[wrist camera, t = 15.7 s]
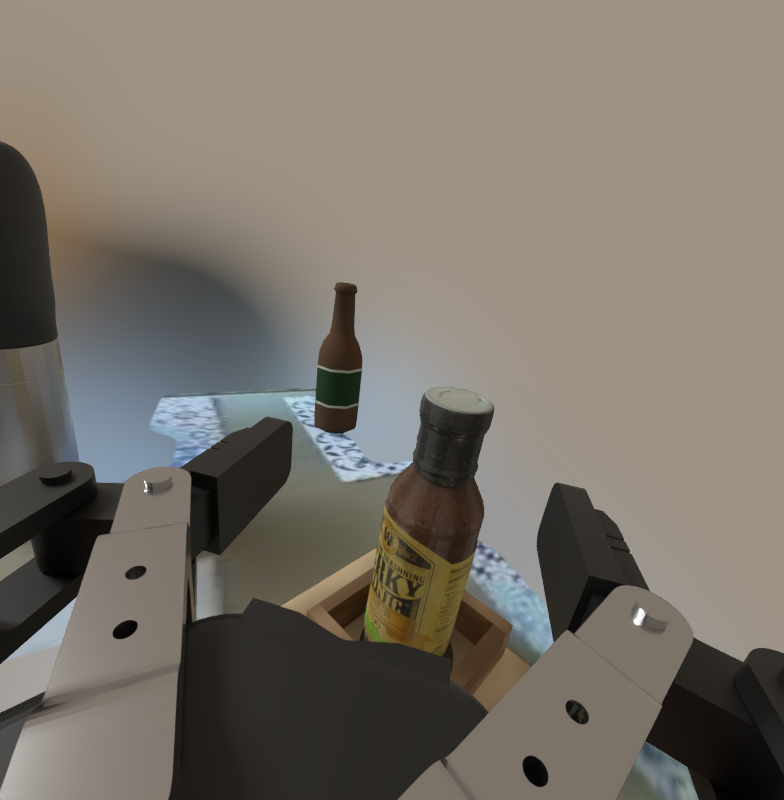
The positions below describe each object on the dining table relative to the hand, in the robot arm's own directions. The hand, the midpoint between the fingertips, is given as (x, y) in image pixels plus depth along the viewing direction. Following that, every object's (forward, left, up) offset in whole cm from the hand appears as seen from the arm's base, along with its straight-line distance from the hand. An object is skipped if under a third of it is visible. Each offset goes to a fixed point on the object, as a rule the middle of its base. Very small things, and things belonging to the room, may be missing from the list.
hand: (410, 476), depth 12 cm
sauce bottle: (-5, +10, -21) cm, 23 cm away
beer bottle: (-42, +33, -22) cm, 58 cm away
